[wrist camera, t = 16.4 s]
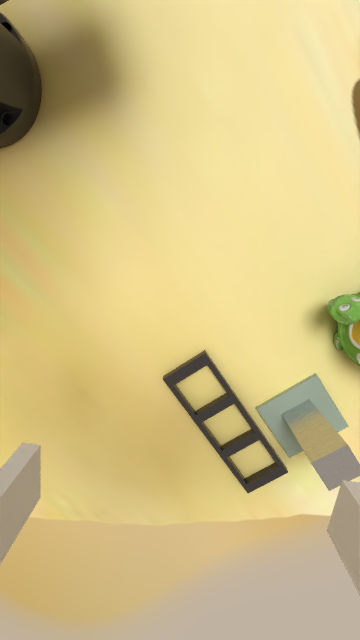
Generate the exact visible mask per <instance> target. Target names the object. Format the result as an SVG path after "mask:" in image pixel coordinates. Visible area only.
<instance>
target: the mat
mask: <svg viewBox="0 0 360 640" xmlns="http://www.w3.org/2000/svg"><path fill="white" fill-rule="evenodd" d="M308 399H310V401H311V402H312V403H313V404H314V405H315V406H316V408H317V409H318V410H319V411H320V412H321V414H322V415H323V416H324V417H325V418H326V419H327V421H328V422H329V423H330V424H331V425H332V427H333V428H334V429H335V430H336V431H337V432H339V431H341V430H343V429H345V428H346V427H348V425H347V423H346V421H345V420H344V418H343V417H342V415H341V413H340V412H339V410H338V408H337V407H336V405H335V404H334V402H333V400H332V399H331V397H330V395H329V394H328V392H327V390H326V389H325V387H324V386H323V384H322V382H321V381H320V379H319V377H318V376H317V375H316V374H313V375H312V376H310V377H308V378H306V379H305V380H303V381H301V382H299V383H298V384H296V385H294V386H292V387H291V388H289V389H287V390H285V391H284V392H282V393H280V394H278V395H277V396H275V397H273V398H271V399H270V400H268V401H266V402H265V403H263V404H261V405H259V406H258V407H256V409H257V411H258V412H259V414H260V415H261V417H262V418H263V420H264V421H265V422H266V424H267V425H268V427H269V428H270V430H271V431H272V433H273V434H274V436H275V437H276V439H277V440H278V441H279V443H280V444H281V446H282V447H283V449H284V450H285V452H286V453H287V455H288V456H289V458H290V457H292V456H294V455H296V454H297V453H299V452H301V451H303V449H302V447H301V446H300V444H299V442H298V440H297V439H296V437H295V435H294V434H293V432H292V430H291V429H290V427H289V425H288V424H287V422H286V420H285V419H284V417H283V415H282V413H284V412H286V411H288V410H290V409H292V408H293V407H295V406H297V405H299V404H301V403H302V402H304V401H306V400H308Z"/></svg>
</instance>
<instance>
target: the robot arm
mask: <svg viewBox="0 0 360 640" xmlns="http://www.w3.org/2000/svg"><path fill="white" fill-rule="evenodd" d="M7 1H9V0H0V5H1V4H3V3H5V2H7ZM40 101H41V79H40V74H39V69H38V66H37V63H36V60H35V58H34V55H33V53H32V51H31V49H30V48H29V46H28V44H27V43H26V41H25V40H24V39H23V37H22V36H21V35H20V33H19V32H18V31H17V29H16V28H15V27H14V26H13V24H12V23H11V22H10V21H9V20H8V19H7V18H6V17H5V16H4V15H3V14H2V13H1V12H0V148H1V147H5V146H8V145H10V144H13V143H14V142H16V141H18V140H19V139H20V138H22V137H23V136H24V135H25V134H26V133H27V132H28V130H29V129H30V128H31V126H32V124H33V123H34V121H35V119H36V116H37V114H38V111H39V107H40ZM39 499H40V445H36V444H27V443H22V444H21V445H20V447H19V448H18V449H17V450H16V451H15V452H14V454H13V455H12V456H11V457H10V458H9V459H8V461H7V462H6V463H5V464H4V465H3V466H2V467H1V469H0V564H1V562H2V561H3V559H4V557H5V556H6V554H7V552H8V551H9V549H10V547H11V546H12V544H13V542H14V541H15V539H16V537H17V535H18V534H19V532H20V530H21V529H22V527H23V525H24V524H25V522H26V521H27V519H28V517H29V516H30V514H31V512H32V510H33V509H34V507H35V505H36V504H37V502H38V500H39ZM327 532H328V534H329V536H330V538H331V539H332V542H333V544H334V545H335V547H336V549H337V551H338V553H339V555H340V557H341V559H342V561H343V563H344V565H345V567H346V569H347V571H348V573H349V575H350V577H351V579H352V581H353V583H354V585H355V587H356V589H357V591H358V593H359V595H360V482H352V481H343V480H342V483H341V486H340V489H339V493H338V496H337V499H336V502H335V506H334V509H333V512H332V515H331V519H330V522H329V525H328V529H327Z"/></svg>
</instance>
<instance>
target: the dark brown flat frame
mask: <svg viewBox="0 0 360 640" xmlns="http://www.w3.org/2000/svg"><path fill="white" fill-rule="evenodd" d="M206 365H208V366H209V368H210V369H211V370H212V372H213V373H214V375H215V376H216V378H217V379H218V380H219V382H220V383H221V385H222V386H223V388H224V389H225V390H226V392H227V393H226V394H224V395H222V396H221V397H219V398H217V399H216V400H214V401H212V402H211V403H209V404H207V405H205V406H204V407H202V408H200V409H199V410H197V411H195V410H194V409H193V407H192V406H191V405H190V403H189V402H188V401H187V399H186V398H185V396H184V395H183V394H182V392H181V391H180V390H179V388H178V387H177V386H176V384H177V383H178V382H180V381H182V380H183V379H185V378H186V377H188V376H190V375H191V374H193V373H195V372H196V371H198V370H199V369H201V368H203V367H204V366H206ZM163 380H164V381H165V383H166V384H167V385H168V387H169V388H170V389H171V391H172V392H173V393H174V395H175V396H176V398H177V399H178V400H179V402H180V403H181V404H182V406H183V407H184V408H185V410H186V411H187V412H188V414H189V415H190V416H191V418H192V419H193V420H194V422H195V423H196V424H197V426H198V427H199V428H200V430H201V431H202V432H203V434H204V435H205V436H206V438H207V439H208V440H209V442H210V443H211V444H212V446H213V447H214V448H215V450H216V451H217V452H218V454H219V455H220V457H221V458H222V459H223V461H224V462H225V463H226V465H227V466H228V467H229V469H230V470H231V471H232V473H233V474H234V475H235V477H236V478H237V479H238V481H239V482H240V483H241V485H242V486H243V487H244V489H245V490H246V491H247V493H250V492H252V491H254V490H255V489H257V488H259V487H261V486H263V485H265V484H267V483H269V482H271V481H273V480H275V479H277V478H278V477H280V476H282V475H284V474H286V473H288V470H287V468H286V466H285V465H284V464H283V462H282V461H281V459H280V458H279V456H278V455H277V453H276V452H275V451H274V449H273V448H272V446H271V445H270V443H269V442H268V440H267V439H266V438H265V436H264V435H263V433H262V432H261V430H260V429H259V427H258V426H257V425H256V423H255V422H254V420H253V419H252V417H251V416H250V414H249V413H248V412H247V410H246V409H245V407H244V406H243V404H242V403H241V402H240V400H239V399H238V397H237V396H236V394H235V393H234V391H233V390H232V389H231V387H230V386H229V384H228V383H227V381H226V380H225V378H224V377H223V376H222V374H221V373H220V371H219V370H218V368H217V367H216V365H215V364H214V363H213V361H212V360H211V358H210V357H209V355H208V354H207V352H206V351H205V350H204V351H203V352H201V353H200V354H198V355H196V356H195V357H193V358H192V359H190V360H188V361H187V362H185V363H184V364H182V365H180V366H179V367H177V368H176V369H174V370H172V371H171V372H169V373H168V374H166V375H164V376H163ZM234 403H235V405H236V406H237V408H238V409H239V410H240V412H241V413H242V415H243V416H244V418H245V419H246V420H247V422H248V423H249V425H250V426H251V428H252V429H251V430H249V431H247V432H245V433H243V434H242V435H240V436H238V437H236V438H235V439H233V440H231V441H229V442H227V443H226V444H224V445H222V446H221V445H220V444H219V443H218V441H217V440H216V438H215V437H214V436H213V434H212V433H211V432H210V430H209V429H208V428H207V426H206V425H205V424H204V422H203V421H205V420H207V419H208V418H210V417H212V416H214V415H215V414H217V413H219V412H220V411H222V410H224V409H226V408H227V407H229V406H231V405H232V404H234ZM258 440H261V442H262V443H263V445H264V446H265V448H266V449H267V450H268V452H269V453H270V455H271V456H272V458H273V459H274V460H275V462H276V463H274V464H272V465H270V466H268V467H266V468H264V469H262V470H261V471H259V472H257V473H255V474H253V475H251V476H249V477H247V478H246V479H245V478H244V476H243V475H242V474H241V472H240V471H239V470H238V468H237V467H236V466H235V464H234V463H233V461H232V460H231V459H230V457H229V456H231V455H233V454H235V453H236V452H238V451H240V450H242V449H244V448H245V447H247V446H249V445H251V444H253V443H255V442H256V441H258Z"/></svg>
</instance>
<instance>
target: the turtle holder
mask: <svg viewBox="0 0 360 640" xmlns="http://www.w3.org/2000/svg"><path fill="white" fill-rule="evenodd" d="M326 310H327V312H328V313H329V314H330V315H331V316H332V318H333V319H334V320H335V321H337V323H338V332H337V333H336V334H335V335H334V339H333V341H334V345H335V347H336V348H337V349H339V350H341V349H344V351H345V353H346V354H347V355H348V356H349V357H350V358H351V359H352V360H353V361H354V362H355V363H357V364H359V365H360V293H359V294H357V295H354V294H351V295H342V296H338V297H336V298H335V299H332V300H330V301H329V302H328V304H327V306H326Z"/></svg>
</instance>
